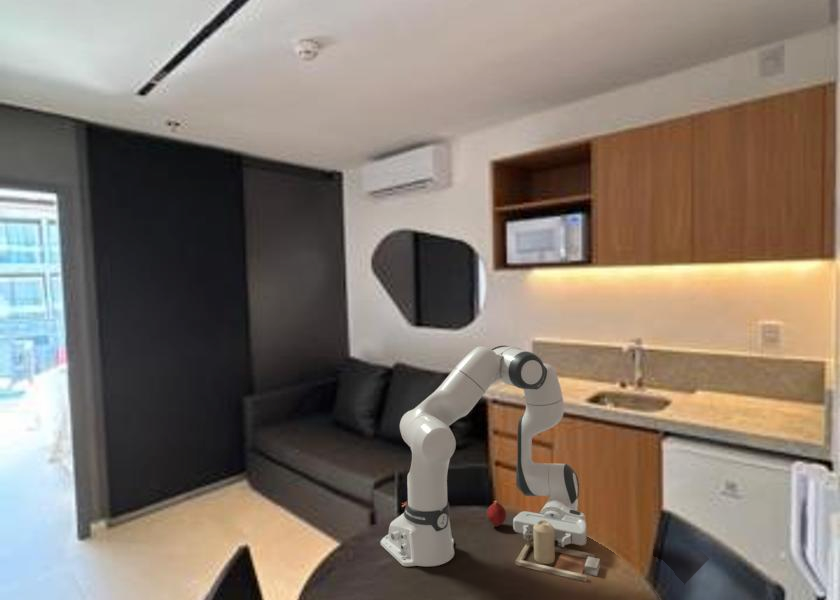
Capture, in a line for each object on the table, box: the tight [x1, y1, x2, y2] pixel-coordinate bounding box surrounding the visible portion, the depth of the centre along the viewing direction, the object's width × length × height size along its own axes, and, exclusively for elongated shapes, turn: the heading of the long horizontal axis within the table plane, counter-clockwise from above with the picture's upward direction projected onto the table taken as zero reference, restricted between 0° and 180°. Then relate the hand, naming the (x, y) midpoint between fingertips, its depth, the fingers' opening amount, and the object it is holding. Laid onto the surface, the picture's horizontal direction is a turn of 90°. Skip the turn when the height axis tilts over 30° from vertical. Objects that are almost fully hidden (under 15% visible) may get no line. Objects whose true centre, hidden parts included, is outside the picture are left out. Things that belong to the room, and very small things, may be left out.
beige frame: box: [514, 539, 601, 582], centre depth 136 cm, size 20×12×2 cm, turn 62°
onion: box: [486, 500, 507, 528], centre depth 157 cm, size 6×6×8 cm
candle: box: [532, 520, 556, 565], centre depth 138 cm, size 6×6×10 cm
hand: (542, 540), depth 137 cm, fingers open, 8 cm apart
